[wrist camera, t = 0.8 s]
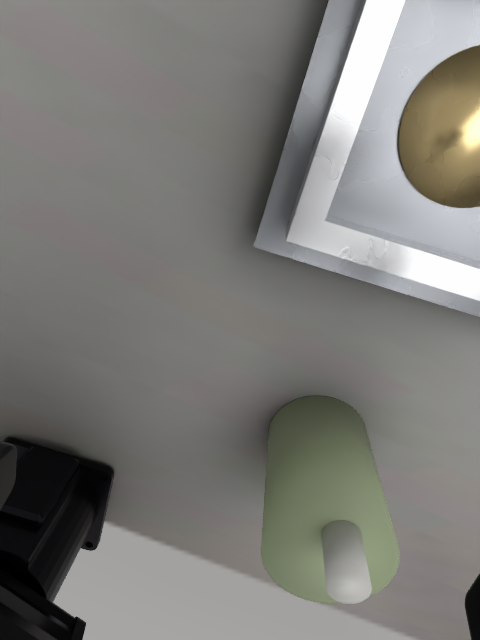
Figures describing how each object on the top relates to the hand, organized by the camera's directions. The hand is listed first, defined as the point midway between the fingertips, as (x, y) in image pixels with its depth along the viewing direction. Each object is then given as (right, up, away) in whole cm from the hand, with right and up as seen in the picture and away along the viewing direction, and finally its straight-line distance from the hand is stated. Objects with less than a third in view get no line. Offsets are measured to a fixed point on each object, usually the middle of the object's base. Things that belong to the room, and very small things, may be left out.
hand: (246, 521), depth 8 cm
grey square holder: (+8, +11, +8) cm, 16 cm away
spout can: (+4, -2, +14) cm, 15 cm away
